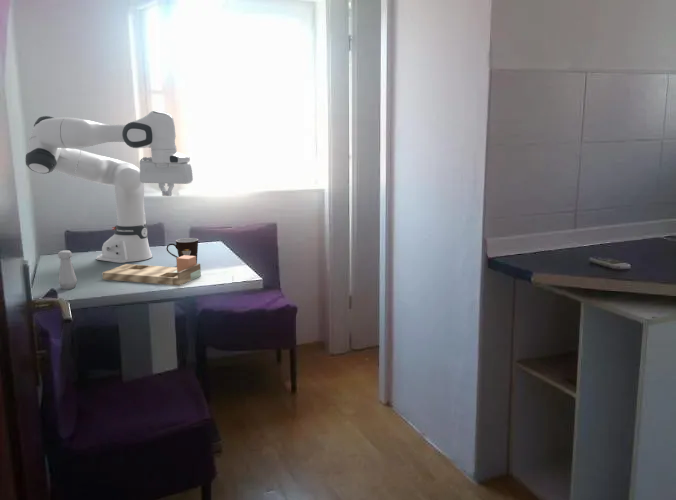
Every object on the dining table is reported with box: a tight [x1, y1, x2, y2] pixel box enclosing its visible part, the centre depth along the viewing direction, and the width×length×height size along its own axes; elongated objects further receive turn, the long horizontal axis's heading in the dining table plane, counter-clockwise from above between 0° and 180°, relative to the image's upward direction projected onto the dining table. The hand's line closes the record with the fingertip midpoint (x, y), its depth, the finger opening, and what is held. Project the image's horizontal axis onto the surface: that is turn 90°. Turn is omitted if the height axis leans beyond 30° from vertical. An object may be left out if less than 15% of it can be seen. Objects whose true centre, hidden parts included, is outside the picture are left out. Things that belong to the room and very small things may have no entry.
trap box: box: [101, 263, 202, 286], centre depth 231 cm, size 32×14×4 cm, turn 72°
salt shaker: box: [57, 249, 78, 290], centre depth 217 cm, size 6×6×13 cm
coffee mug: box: [165, 237, 199, 264], centre depth 249 cm, size 12×9×10 cm
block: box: [175, 255, 196, 272], centre depth 230 cm, size 5×5×5 cm
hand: (167, 195), depth 230 cm, fingers closed
